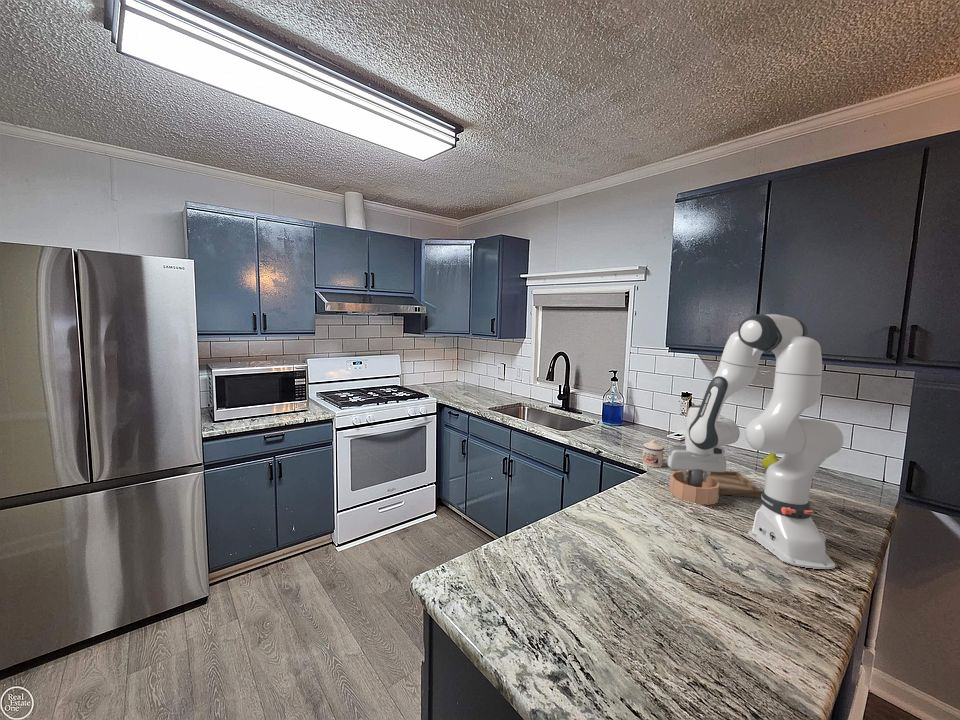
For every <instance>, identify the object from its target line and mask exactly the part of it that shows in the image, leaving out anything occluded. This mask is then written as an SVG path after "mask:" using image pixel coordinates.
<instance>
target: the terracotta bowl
mask: <svg viewBox="0 0 960 720" xmlns="http://www.w3.org/2000/svg"><path fill="white" fill-rule="evenodd" d="M685 474H686V475H688V470H687V473H685ZM704 475H705V474H703V476H704ZM687 482H688V481H684V475H683V473H682V472H681V470H677V471H676V470H675V471H673V472H672V473H671V474H670V475H669V485H668V486H669V489H668V492H669V491H670V492H671V493H672V494H671V493H670V492H669V493H670V494H671V496H672V495H674V496H676V497H678V498H680V499H682V500H685V501H689V502H692V503H696V504H707V505H709V504H714V503H717V504H718V502H719V500H718V499H720V495H719V491H720V483H719V482H718V481H717V480H716V479H715V478H713V477H710V476H709V477H708V478H707V482H702V488H701V487H694V486H690V485H687ZM674 496H673V497H674ZM714 505H715V504H714Z"/></svg>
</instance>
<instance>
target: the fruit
mask: <svg viewBox="0 0 960 720" xmlns="http://www.w3.org/2000/svg"><path fill="white" fill-rule="evenodd" d="M779 460H780V459H778V457H777V454H773V453H768V456H767V457H764V458H762V460H761V466H762V467H763V468H764V470H765V471H766V470H767V468H768V467H769V466H770V465H771V464H773V463H775V462H777V461H779Z"/></svg>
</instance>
